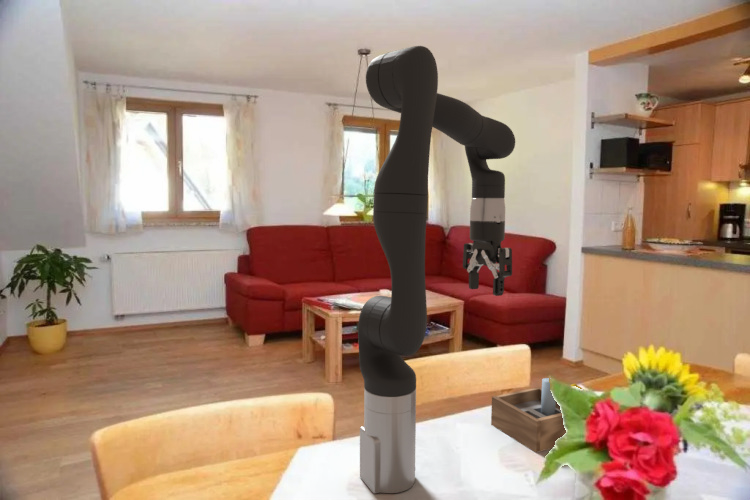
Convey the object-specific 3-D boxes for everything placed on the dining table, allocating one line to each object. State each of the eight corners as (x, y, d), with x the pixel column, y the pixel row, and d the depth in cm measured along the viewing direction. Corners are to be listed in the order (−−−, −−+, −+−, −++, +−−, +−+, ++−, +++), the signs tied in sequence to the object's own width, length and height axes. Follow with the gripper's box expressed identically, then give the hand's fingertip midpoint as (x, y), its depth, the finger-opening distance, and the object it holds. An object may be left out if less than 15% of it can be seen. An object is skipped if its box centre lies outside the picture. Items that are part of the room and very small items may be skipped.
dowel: (547, 432, 109) (549, 383, 108) (537, 427, 112) (539, 379, 111) (557, 430, 110) (559, 381, 109) (547, 424, 113) (549, 377, 112)
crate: (535, 452, 100) (537, 421, 100) (491, 424, 113) (491, 396, 112) (586, 438, 106) (587, 409, 106) (538, 413, 119) (539, 386, 118)
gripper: (454, 218, 114) (453, 288, 116) (494, 220, 102) (492, 299, 103) (481, 217, 118) (479, 286, 119) (523, 220, 105) (520, 296, 106)
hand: (485, 292), depth 111 cm, fingers open, 8 cm apart
